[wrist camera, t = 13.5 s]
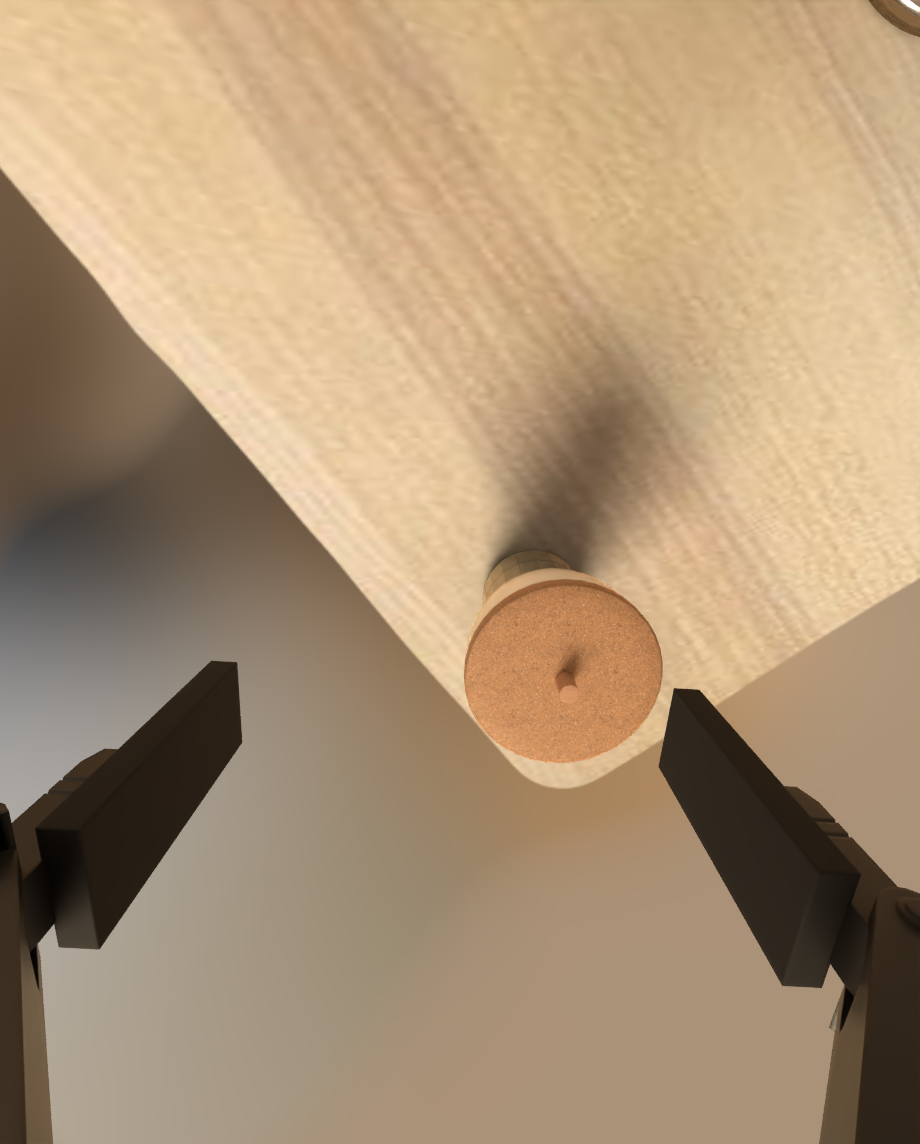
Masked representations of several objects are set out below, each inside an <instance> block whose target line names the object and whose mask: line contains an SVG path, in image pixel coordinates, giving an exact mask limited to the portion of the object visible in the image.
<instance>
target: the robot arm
mask: <svg viewBox="0 0 920 1144" xmlns="http://www.w3.org/2000/svg"><path fill="white" fill-rule="evenodd" d="M869 1H870V2H871V4H872V5H873V6H874V7H875V9H876V10H877V11H878V12H879V13H880V14H881V15H882V16H883V17H884V18H885V19H887V20H888V21H889V22H890V23H891V24H893V25H895V26H896V27H898V28H899V29H901V30H903V31H905V32H907V33H909V34H911V35H914V36H918V37H920V0H869ZM241 743H242V732H241V716H240V700H239V685H238V670H237V662H222V661H211V662H210V663H209V664H208V665H206V667H204V668H203V669H202V670H201V671H200V672H199V673H198V674H197V675H196V676H195V677H194V678H193V679H192V680H191V681H190V682H189V683H188V684H186V685H185V686H184V687H183V688H182V689H181V690H180V691H179V692H178V693H177V694H176V695H175V696H174V697H173V698H172V699H171V700H170V701H169V702H167V703H166V704H165V705H164V706H163V707H162V708H161V709H160V710H159V711H158V712H157V713H156V714H155V715H154V716H153V717H152V718H151V719H150V720H149V721H148V722H146V723H145V724H144V725H143V726H142V727H141V728H140V729H139V730H138V731H137V732H136V733H135V734H134V735H133V736H132V737H131V738H130V739H129V740H128V741H126V742H125V743H124V744H123V745H122V746H121V747H120V748H119V749H103V750H102V751H100V752H98V753H96V754H94V755H92V756H90V757H89V758H87V759H85V760H83V761H81V762H80V763H79V764H78V765H77V766H75V767H74V768H73V769H72V770H71V771H70V772H69V773H68V774H66V776H64V777H63V780H62V781H61V780H60V781H59V782H58V783H56V784H55V785H54V786H53V787H52V788H51V789H50V790H49V792H48V794H44V795H43V796H42V797H41V798H40V799H38V800H37V801H36V802H35V803H34V804H33V805H32V806H30V807H29V808H28V809H27V810H26V811H25V812H24V813H23V814H21V815H20V816H19V817H18V818H17V819H16V820H15V821H14V822H13V823H11V819H10V814H9V811H8V809H7V807H6V805H5V804H3V803H0V1144H53V1139H52V1123H51V1111H50V1110H51V1109H50V1094H49V1078H48V1064H47V1051H46V1050H47V1049H46V1034H45V1019H44V1005H43V989H42V975H41V960H40V954H39V949H38V943H39V942H40V940H41V939H42V938H43V936H44V935H45V934H46V933H47V932H48V931H49V929H50V928H51V927H52V926H53V924H54V925H55V930H56V935H57V940H58V945H59V947H63V948H84V949H100V948H101V946H102V945H103V943H104V942H105V941H106V939H107V938H108V936H109V935H110V933H111V932H112V930H113V929H114V927H115V926H116V925H117V923H118V921H119V920H120V919H121V917H122V916H123V914H124V913H125V912H126V910H127V908H128V907H129V906H130V904H131V903H132V901H133V900H134V899H135V897H136V896H137V894H138V893H139V891H140V890H141V888H142V887H143V885H144V884H145V883H146V881H147V880H148V878H149V877H150V875H151V874H152V872H153V871H154V869H155V868H156V867H157V865H158V864H159V862H160V861H161V859H162V858H163V856H164V855H165V854H166V852H167V851H168V849H169V848H170V846H171V845H172V843H173V842H174V840H175V839H176V838H177V836H178V835H179V833H180V832H181V830H182V829H183V827H184V826H185V825H186V823H187V822H188V820H189V819H190V817H191V816H192V814H193V813H194V812H195V810H196V809H197V807H198V806H199V804H200V803H201V801H202V800H203V799H204V797H205V795H206V794H207V793H208V791H209V790H210V788H211V787H212V785H213V784H214V783H215V781H216V780H217V778H218V777H219V775H220V774H221V772H222V771H223V770H224V768H225V766H226V765H227V764H228V762H229V761H230V759H231V758H232V756H233V755H234V754H235V752H236V751H237V749H238V748H239V746H240V745H241ZM659 768H660V770H661V772H662V773H663V775H664V777H665V778H666V780H667V782H668V784H669V786H670V787H671V789H672V791H673V793H674V795H675V796H676V798H677V800H678V802H679V803H680V805H681V807H682V809H683V810H684V812H685V814H686V816H687V818H688V819H689V821H690V823H691V825H692V826H693V828H694V830H695V832H696V834H697V835H698V837H699V839H700V841H701V842H702V844H703V846H704V848H705V850H706V851H707V853H708V855H709V856H710V858H711V860H712V862H713V864H714V865H715V867H716V869H717V871H718V873H719V874H720V876H721V878H722V880H723V881H724V883H725V885H726V887H727V888H728V890H729V892H730V894H731V895H732V897H733V899H734V901H735V903H736V904H737V906H738V908H739V910H740V911H741V913H742V915H743V917H744V919H745V920H746V922H747V924H748V926H749V927H750V929H751V931H752V933H753V934H754V936H755V938H756V940H757V941H758V943H759V945H760V947H761V948H762V950H763V952H764V954H765V956H766V957H767V959H768V961H769V963H770V965H771V966H772V968H773V970H774V972H775V973H776V975H777V977H778V979H779V980H780V982H781V984H782V986H796V987H815V988H822V986H823V983H824V980H825V977H826V974H827V971H828V968H829V966H830V964H831V965H832V967H833V968H834V970H835V971H836V973H837V974H838V976H839V977H840V978H841V980H842V982H843V983H844V988H843V991H842V993H841V996H840V999H839V1001H838V1004H837V1007H836V1010H835V1012H834V1015H833V1018H832V1021H831V1023H830V1026H829V1028H830V1029H832V1030H834V1031H835V1035H834V1042H833V1049H832V1056H831V1063H830V1071H829V1078H828V1085H827V1093H826V1099H825V1106H824V1113H823V1121H822V1128H821V1135H820V1142H819V1144H920V894H919V893H917V892H914V891H911V890H909V889H906V888H900V887H897V886H896V884H895V883H894V882H893V881H892V880H891V879H890V878H889V877H888V876H887V875H886V874H885V873H884V872H883V871H882V869H881V868H879V866H878V865H877V864H876V863H875V862H874V861H873V860H872V859H871V858H870V857H869V856H868V855H867V853H866V852H865V851H864V850H863V849H862V848H861V847H860V846H859V845H858V844H857V843H856V842H855V840H854V839H853V838H851V837H849V836H848V833H847V832H846V831H845V830H844V829H843V828H842V827H841V826H840V824H839V823H836V822H835V819H834V818H833V817H832V816H831V815H830V814H829V813H828V812H827V810H826V809H825V808H823V806H822V805H821V804H820V803H819V802H818V801H816V800H815V799H813V798H812V797H810V796H809V795H808V794H806V793H805V792H803V791H802V790H800V789H799V788H797V787H788V786H783V785H782V784H781V782H780V781H779V780H778V779H777V778H776V777H775V776H774V774H773V773H772V772H771V771H770V770H769V769H768V768H767V766H766V765H765V764H764V763H763V762H762V761H761V760H760V758H759V757H758V756H757V755H756V754H755V753H754V752H753V750H752V749H751V748H750V747H749V746H748V745H747V744H746V742H745V741H744V740H743V739H742V738H741V737H740V736H739V735H738V733H737V732H736V731H735V730H734V729H733V728H732V727H731V725H730V724H729V723H728V722H727V721H726V720H725V719H724V717H723V716H722V715H721V714H720V713H719V712H718V711H717V709H716V708H715V707H714V706H713V705H712V704H711V703H710V701H709V700H708V699H707V698H706V697H705V696H704V695H703V694H702V692H701V691H700V690H694V689H677V688H674V691H673V696H672V701H671V706H670V711H669V716H668V721H667V726H666V732H665V737H664V742H663V747H662V752H661V757H660V762H659Z"/></svg>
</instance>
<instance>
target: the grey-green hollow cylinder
mask: <svg viewBox="0 0 920 1144" xmlns="http://www.w3.org/2000/svg"><path fill="white" fill-rule="evenodd" d="M547 568H559V569H568V570H572V568H571V567H570V566H569V565H568V564H567V563H565V562H564V561H563V560H562V559H561V558H559V557H558V556H555V555H553V554H550V553H548V552H545V551H535V550H528V551H523V552H519V553H515V554H513V555H511V556H509V557H507V558H506V559H504V560H502V561H501V562H500V563H499V564H498V565H497V566H496V567H495V568H494V569H493V570H492V571H491V573H490V575H489V577H488V579H487V581H486V584H485V587H484V594H483V605H484V603H485V602H486V601H487V599H488V598H489V597H490V596H491V595H492V594H493V593H494V592H495V591H496V590H497V589H498V588H499V587H501V586H502V585H503V584H504V583H506V582H508V581H509V580H511V579H513V578H514V577H516V576H519V575H521V574H524V573H526V572H530V571H534V570H538V569H547ZM572 571H573V570H572Z"/></svg>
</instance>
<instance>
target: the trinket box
mask: <svg viewBox="0 0 920 1144" xmlns="http://www.w3.org/2000/svg"><path fill="white" fill-rule="evenodd" d="M464 681H465V691H466V696H467V699H468V703H469V706H470V708H471V710H472V712H473V714H474V716H475V718H476V720H477V721H478V723H479V724H480V725H481V727H482V728H483V730H484V731H485V732H486V733H487V734H488V735H489V736H490V737H491V738H492V739H493V740H495V741H496V742H497V743H499V744H500V745H502V746H503V747H504V748H506V749H508V750H510V751H512V752H514V753H516V754H518V755H521V756H524V757H527V758H529V759H533V760H539V761H544V762H556V763H563V762H574V761H579V760H584V759H589V758H592V757H594V756H597V755H600V754H602V753H604V752H606V751H608V750H610V749H612V748H614V747H616V746H618V745H619V744H620V743H622V742H623V741H624V740H626V739H627V738H628V737H629V736H631V735H632V734H633V733H634V732H635V731H636V730H637V729H638V728H639V727H640V726H641V724H642V723H643V722H644V720H645V719H646V718H647V716H648V715H649V713H650V711H651V709H652V708H653V706H654V704H655V702H656V699H657V696H658V693H659V691H660V686H661V681H662V656H661V650H660V646H659V643H658V641H657V638H656V635H655V633H654V631H653V630H652V628H651V626H650V624H649V623H648V621H647V620H646V619H645V618H644V617H643V615H642V614H641V613H640V612H639V611H638V609H637V608H636V607H634V606H633V605H632V604H631V603H630V602H629V601H627V600H626V599H625V598H624V597H622V596H621V595H619V594H618V593H617V592H616V591H615V590H613V589H612V588H611V587H609V586H608V585H606V584H604V583H603V582H601V581H599V580H598V579H596V578H594V577H592V576H589V575H586V574H584V573H581V572H577V571H572V570H568V569H559V568H547V569H538V570H534V571H530V572H526V573H524V574H521V575H519V576H516V577H514V578H513V579H511V580H509V581H508V582H506V583H504V584H503V585H502V586H501V587H499V588H498V589H497V590H496V591H495V592H494V593H493V594H492V595H491V596H490V597H489V598H488V599H487V601H486V602H485V603H484V605H483V606H482V608H481V610H480V611H479V613H478V614H477V617H476V619H475V621H474V623H473V626H472V629H471V632H470V636H469V640H468V645H467V654H466V658H465V669H464Z"/></svg>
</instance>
